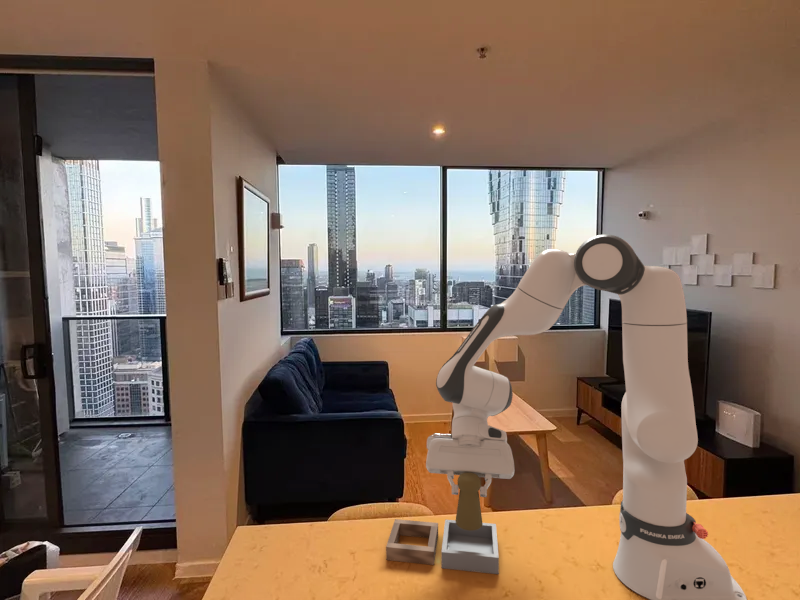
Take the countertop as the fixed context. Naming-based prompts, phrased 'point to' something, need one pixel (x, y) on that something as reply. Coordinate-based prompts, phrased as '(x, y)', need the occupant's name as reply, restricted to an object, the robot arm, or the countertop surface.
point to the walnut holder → (412, 551)
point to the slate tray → (470, 548)
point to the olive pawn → (469, 502)
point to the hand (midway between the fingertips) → (469, 495)
